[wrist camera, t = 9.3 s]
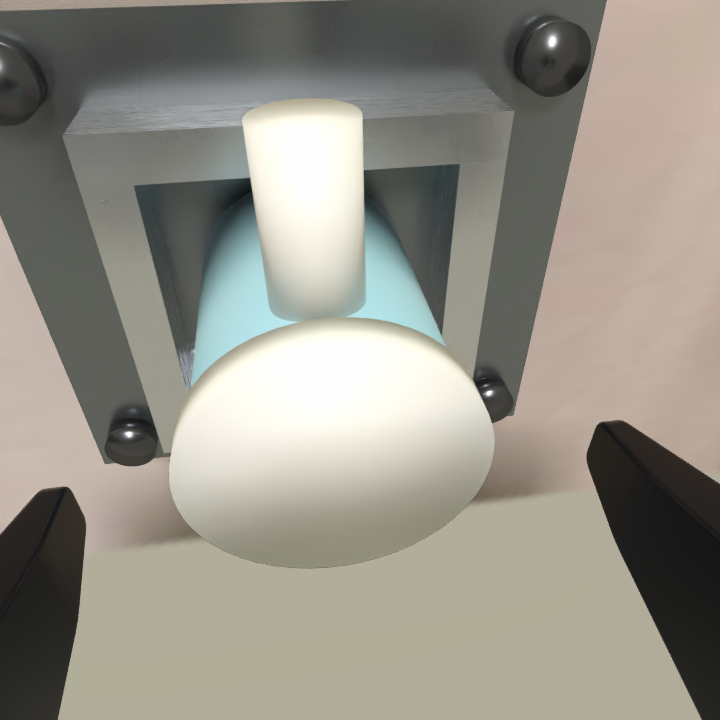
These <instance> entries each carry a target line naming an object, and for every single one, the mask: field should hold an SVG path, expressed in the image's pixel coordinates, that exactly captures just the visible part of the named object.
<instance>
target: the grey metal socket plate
mask: <svg viewBox="0 0 720 720" xmlns="http://www.w3.org/2000/svg"><path fill="white" fill-rule="evenodd" d="M606 1H607V0H0V216H1V218H2V221H3V223H4V225H5V228H6V230H7V232H8V235H9V237H10V240H11V242H12V244H13V247H14V249H15V251H16V254H17V256H18V259H19V261H20V263H21V266H22V268H23V270H24V273H25V275H26V278H27V280H28V282H29V285H30V287H31V289H32V292H33V294H34V296H35V299H36V301H37V304H38V306H39V308H40V311H41V313H42V315H43V318H44V320H45V323H46V325H47V327H48V330H49V332H50V334H51V337H52V339H53V342H54V344H55V346H56V349H57V351H58V353H59V356H60V358H61V361H62V363H63V365H64V368H65V370H66V372H67V375H68V377H69V380H70V382H71V384H72V387H73V389H74V391H75V394H76V396H77V399H78V401H79V403H80V406H81V408H82V410H83V413H84V415H85V418H86V420H87V422H88V425H89V427H90V429H91V432H92V434H93V437H94V439H95V441H96V444H97V446H98V448H99V451H100V453H101V456H102V458H103V460H104V463H105V464H110V463H117V464H120V465H124V466H140V465H143V464H146V463H148V462H150V461H151V460H152V459H153V458H161V457H169V456H171V451H172V442H173V434H174V428H175V422H176V417H177V415H178V412H179V409H180V406H181V404H182V402H183V400H184V398H185V397H186V395H187V393H188V391H189V390H190V388H191V380H192V370H193V360H194V350H195V340H196V330H197V320H198V310H199V300H200V289H201V279H202V269H203V260H204V254H205V248H206V245H207V242H208V239H209V236H210V234H211V232H212V230H213V228H214V226H215V225H216V223H217V222H218V221H219V219H220V218H221V216H222V215H223V214H224V213H225V212H226V211H227V210H228V209H229V208H230V207H231V205H233V204H234V203H235V202H236V201H238V200H239V199H240V198H241V197H243V196H244V195H246V194H248V193H249V192H251V191H252V186H251V179H250V172H249V165H248V158H247V151H246V145H245V138H244V131H243V124H242V118H243V116H244V115H245V114H246V113H247V112H249V111H250V110H252V109H254V108H256V107H259V106H262V105H265V104H268V103H272V102H277V101H283V100H290V99H302V98H320V99H331V100H338V101H342V102H346V103H349V104H352V105H354V106H356V107H358V108H359V109H360V110H361V112H362V115H363V166H364V194H365V195H366V196H367V197H369V198H370V199H371V200H373V201H374V202H375V203H376V204H377V205H378V206H379V207H380V208H381V209H382V210H383V211H384V212H385V214H386V215H387V216H388V218H389V219H390V220H391V222H392V224H393V226H394V228H395V230H396V232H397V234H398V236H399V239H400V241H401V243H402V246H403V248H404V250H405V253H406V255H407V257H408V260H409V262H410V264H411V267H412V269H413V271H414V274H415V276H416V278H417V281H418V283H419V285H420V287H421V290H422V292H423V294H424V297H425V299H426V301H427V304H428V306H429V308H430V311H431V313H432V315H433V318H434V320H435V322H436V325H437V327H438V329H439V332H440V334H441V336H442V339H443V341H444V343H445V345H446V348H448V349H449V350H450V351H451V352H452V353H453V354H454V355H456V356H457V357H458V359H459V360H460V361H461V362H462V363H463V365H464V366H465V367H466V368H467V370H468V372H469V374H470V375H471V377H472V379H473V381H474V383H475V385H476V387H477V389H478V392H479V394H480V396H481V398H482V400H483V403H484V405H485V407H486V409H487V411H488V414H489V416H490V419H491V422H492V423H494V422H497V421H499V420H501V419H503V418H504V417H506V416H512V415H514V410H515V406H516V401H517V397H518V392H519V388H520V383H521V379H522V375H523V370H524V366H525V361H526V357H527V352H528V348H529V343H530V339H531V335H532V330H533V326H534V321H535V317H536V312H537V308H538V303H539V299H540V295H541V290H542V286H543V281H544V277H545V272H546V268H547V263H548V259H549V255H550V250H551V246H552V241H553V237H554V232H555V228H556V223H557V219H558V215H559V210H560V206H561V201H562V197H563V192H564V188H565V183H566V179H567V175H568V170H569V166H570V161H571V157H572V152H573V148H574V143H575V139H576V135H577V130H578V126H579V121H580V117H581V112H582V108H583V103H584V99H585V95H586V90H587V86H588V81H589V77H590V72H591V68H592V63H593V59H594V55H595V50H596V46H597V41H598V37H599V32H600V28H601V23H602V19H603V15H604V10H605V6H606Z"/></svg>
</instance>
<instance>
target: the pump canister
mask: <svg viewBox="0 0 720 720" xmlns="http://www.w3.org/2000/svg"><path fill="white" fill-rule="evenodd" d="M242 124H243V131H244V138H245V145H246V151H247V158H248V165H249V172H250V179H251V186H252V191H251V192H249V193H248V194H246V195H244V196H243V197H241V198H240V199H239V200H238V201H236V202H235V203H234V204H233V205H231V207H230V208H229V209H228V210H227V211H226V212H225V213H224V214H223V215H222V216H221V218H220V219H219V221H218V222H217V223H216V225H215V226H214V228H213V230H212V232H211V234H210V236H209V239H208V242H207V245H206V248H205V254H204V260H203V269H202V279H201V289H200V300H199V310H198V320H197V330H196V340H195V350H194V360H193V370H192V380H191V388H190V390H189V391H188V393H187V395H186V397H185V398H184V400H183V402H182V404H181V406H180V409H179V412H178V415H177V417H176V422H175V428H174V434H173V442H172V451H171V459H170V467H169V483H170V489H171V493H172V497H173V500H174V503H175V505H176V507H177V509H178V511H179V513H180V514H181V516H182V517H183V518H184V520H185V521H186V522H187V524H188V525H189V526H190V527H191V528H192V529H193V530H194V531H195V532H196V533H197V534H198V535H200V536H201V537H202V538H204V539H205V540H206V541H208V542H209V543H211V544H212V545H214V546H216V547H218V548H219V549H222V550H223V551H225V552H228V553H230V554H232V555H235V556H237V557H240V558H243V559H247V560H250V561H253V562H256V563H262V564H266V565H271V566H280V567H288V568H328V567H336V566H345V565H350V564H356V563H361V562H365V561H369V560H372V559H376V558H380V557H383V556H386V555H389V554H392V553H395V552H397V551H399V550H402V549H404V548H406V547H409V546H411V545H413V544H415V543H417V542H419V541H421V540H423V539H424V538H426V537H428V536H430V535H431V534H433V533H434V532H436V531H437V530H439V529H441V528H442V527H443V526H445V525H446V524H447V523H449V522H450V521H451V520H452V519H454V518H455V517H456V516H457V515H458V514H459V513H460V512H461V511H462V510H463V509H464V508H465V507H466V506H467V505H468V504H469V503H470V502H471V500H472V499H473V498H474V497H475V496H476V494H477V493H478V491H479V489H480V488H481V486H482V485H483V483H484V481H485V479H486V477H487V475H488V473H489V470H490V467H491V464H492V460H493V456H494V446H495V439H494V430H493V426H492V422H491V419H490V416H489V414H488V411H487V409H486V407H485V405H484V403H483V400H482V398H481V396H480V394H479V392H478V389H477V387H476V385H475V383H474V381H473V379H472V377H471V375H470V374H469V372H468V370H467V368H466V367H465V366H464V365H463V363H462V362H461V361H460V360H459V359H458V357H457V356H456V355H454V354H453V353H452V352H451V351H450V350H449V349H448V348H446V345H445V343H444V341H443V339H442V336H441V334H440V332H439V329H438V327H437V325H436V322H435V320H434V318H433V315H432V313H431V311H430V308H429V306H428V304H427V301H426V299H425V297H424V294H423V292H422V290H421V287H420V285H419V283H418V281H417V278H416V276H415V274H414V271H413V269H412V267H411V264H410V262H409V260H408V257H407V255H406V253H405V250H404V248H403V246H402V243H401V241H400V239H399V236H398V234H397V232H396V230H395V228H394V226H393V224H392V222H391V220H390V219H389V218H388V216H387V215H386V214H385V212H384V211H383V210H382V209H381V208H380V207H379V206H378V205H377V204H376V203H375V202H374V201H373V200H371V199H370V198H369V197H367V196H366V195H365V194H364V166H363V115H362V112H361V110H360V109H359V108H358V107H356V106H354V105H352V104H349V103H346V102H342V101H338V100H331V99H320V98H302V99H290V100H283V101H277V102H272V103H268V104H265V105H262V106H259V107H256V108H254V109H252V110H250V111H249V112H247V113H246V114H245V115H244V116H243V118H242Z"/></svg>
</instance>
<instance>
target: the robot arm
mask: <svg viewBox="0 0 720 720" xmlns="http://www.w3.org/2000/svg"><path fill="white" fill-rule="evenodd" d="M587 464H588V468H589V471H590V473H591V476H592V479H593V482H594V484H595V487H596V490H597V493H598V496H599V498H600V501H601V504H602V507H603V510H604V512H605V515H606V518H607V521H608V523H609V526H610V529H611V532H612V534H613V537H614V539H615V542H616V544H617V546H618V548H619V551H620V553H621V555H622V557H623V559H624V561H625V563H626V565H627V567H628V569H629V571H630V573H631V575H632V577H633V579H634V582H635V583H636V586H637V588H638V590H639V592H640V594H641V596H642V598H643V600H644V602H645V604H646V606H647V608H648V610H649V612H650V614H651V616H652V618H653V621H654V622H655V625H656V627H657V629H658V631H659V633H660V635H661V637H662V639H663V641H664V643H665V645H666V647H667V649H668V651H669V653H670V655H671V657H672V660H673V662H674V664H675V666H676V668H677V670H678V672H679V674H680V676H681V678H682V680H683V682H684V684H685V686H686V688H687V690H688V692H689V694H690V696H691V699H692V701H693V702H694V705H695V707H696V708H697V711H698V713H699V715H700V717H701V719H702V720H720V484H719V483H718V482H716V481H715V480H713V479H711V478H710V477H708V476H707V475H705V474H704V473H702V472H701V471H699V470H698V469H696V468H695V467H693V466H692V465H690V464H689V463H687V462H686V461H684V460H683V459H681V458H680V457H678V456H677V455H675V454H674V453H672V452H670V451H669V450H667V449H666V448H664V447H663V446H661V445H660V444H658V443H657V442H655V441H654V440H652V439H651V438H649V437H648V436H646V435H645V434H643V433H642V432H640V431H639V430H637V429H636V428H634V427H633V426H631V425H629V424H628V423H626V422H624V421H622V420H614V421H605V422H601V423H599V424H598V425H597V426H596V428H595V431H594V434H593V437H592V440H591V442H590V445H589V448H588V451H587ZM85 536H86V522H85V517H84V515H83V513H82V511H81V509H80V507H79V505H78V503H77V501H76V499H75V497H74V495H73V493H72V491H71V490H70V489H69V488H68V487H55V488H47V489H43V490H41V491H39V492H38V493H37V494H36V495H35V496H34V497H33V498H32V499H31V500H30V501H29V503H28V504H27V505H26V506H25V507H24V508H23V509H22V510H21V512H20V513H19V514H18V515H17V516H16V517H15V518H14V519H13V521H12V522H11V523H10V524H9V525H8V526H7V527H6V528H5V530H4V531H3V532H2V533H1V534H0V720H58V715H59V710H60V706H61V701H62V696H63V691H64V686H65V682H66V677H67V672H68V667H69V662H70V658H71V653H72V648H73V643H74V638H75V633H76V628H77V622H78V614H79V605H80V593H81V581H82V569H83V559H84V548H85Z"/></svg>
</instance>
